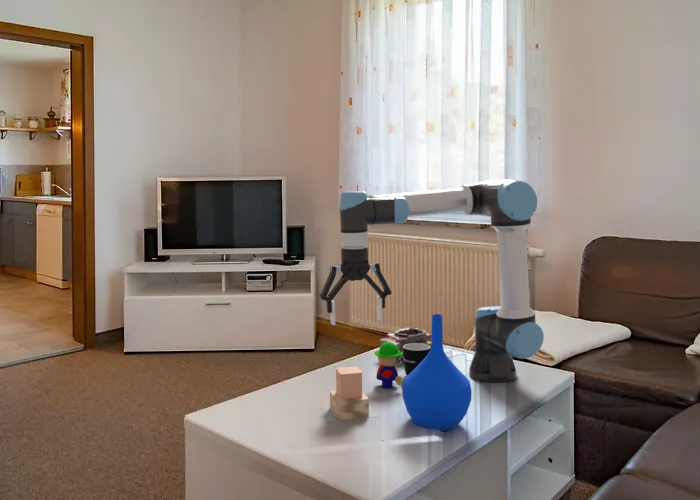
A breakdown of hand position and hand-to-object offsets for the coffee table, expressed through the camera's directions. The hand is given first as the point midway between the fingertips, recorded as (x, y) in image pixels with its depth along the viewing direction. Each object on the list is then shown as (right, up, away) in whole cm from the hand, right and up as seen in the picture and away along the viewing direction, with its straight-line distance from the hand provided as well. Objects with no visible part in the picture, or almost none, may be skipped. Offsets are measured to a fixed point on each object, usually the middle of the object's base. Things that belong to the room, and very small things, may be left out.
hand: (356, 322), depth 183 cm
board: (-2, -26, -3) cm, 26 cm away
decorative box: (+19, -19, +53) cm, 59 cm away
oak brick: (-2, -25, -3) cm, 25 cm away
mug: (+21, -22, +31) cm, 43 cm away
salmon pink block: (-2, -20, -4) cm, 20 cm away
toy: (+10, -23, +19) cm, 32 cm away
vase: (+21, -27, -9) cm, 35 cm away
